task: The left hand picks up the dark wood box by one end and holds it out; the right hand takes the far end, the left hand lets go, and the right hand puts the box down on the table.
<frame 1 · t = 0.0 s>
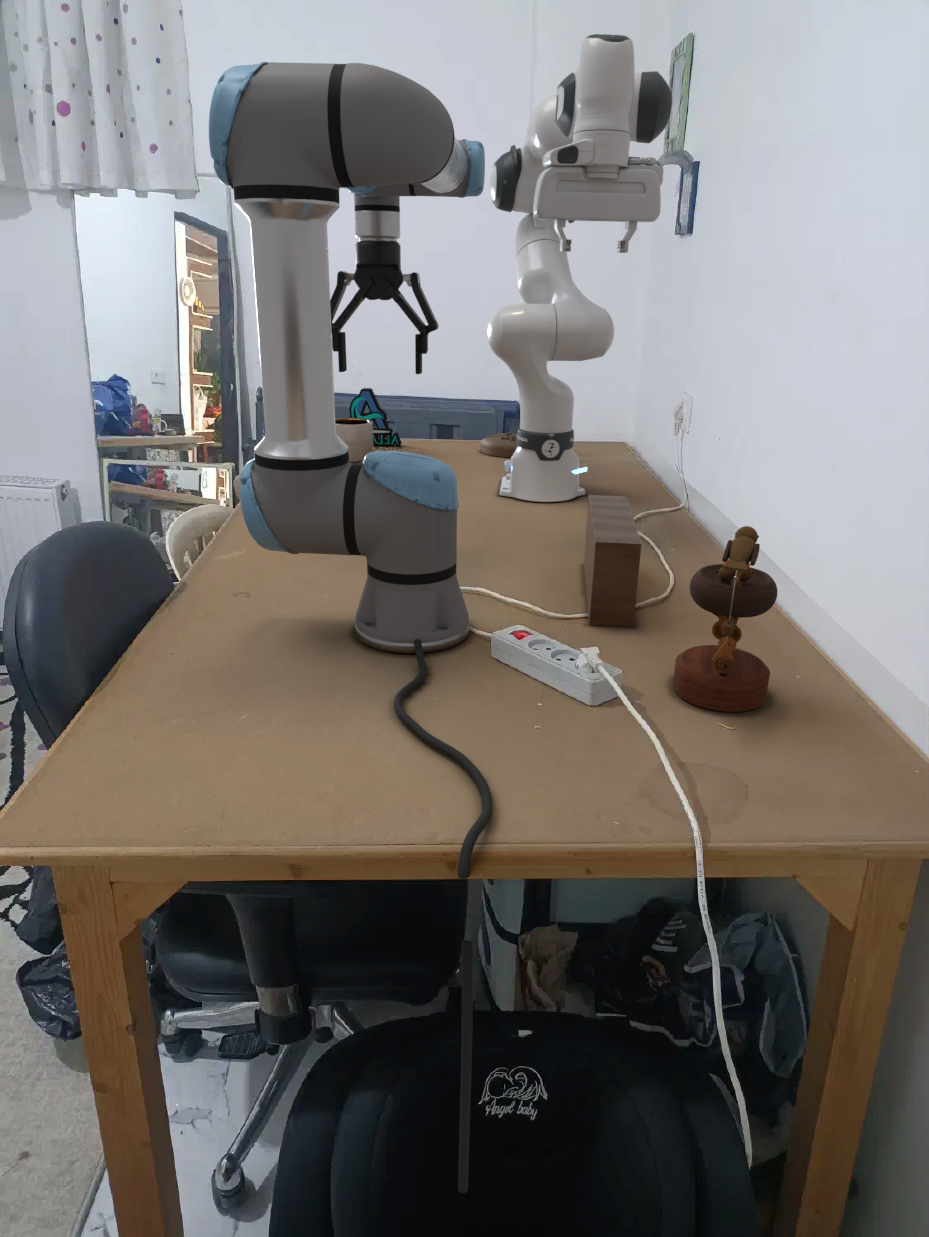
left hand: (380, 372, 149), 28 cm above the table, tool pointing down, fingers open, 13 cm apart
right hand: (593, 252, 137), 48 cm above the table, tool pointing down, fingers open, 8 cm apart
box: (606, 593, 128), on the table
planter: (352, 460, 214), on the table
dog toy: (371, 486, 189), on the table
music box: (717, 688, 99), on the table
brown flat oval slab: (521, 456, 222), on the table
decorative sign: (367, 445, 233), on the table
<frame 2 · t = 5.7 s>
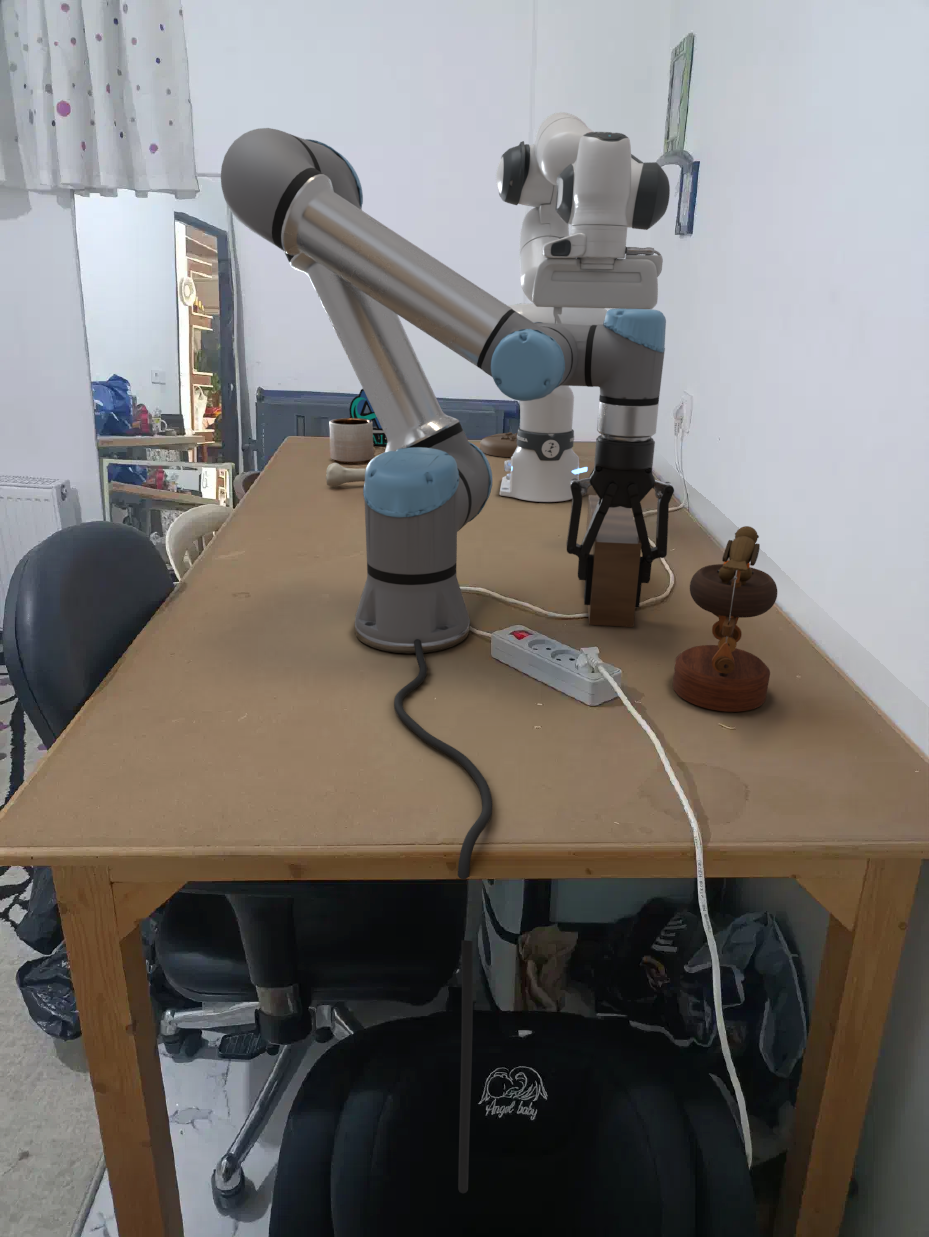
left hand: (611, 602, 118), 2 cm above the table, tool pointing down, fingers closed on box, 6 cm apart
right hand: (591, 337, 140), 35 cm above the table, tool pointing down, fingers open, 8 cm apart
box: (606, 593, 128), on the table, touching left hand
everything else where it was.
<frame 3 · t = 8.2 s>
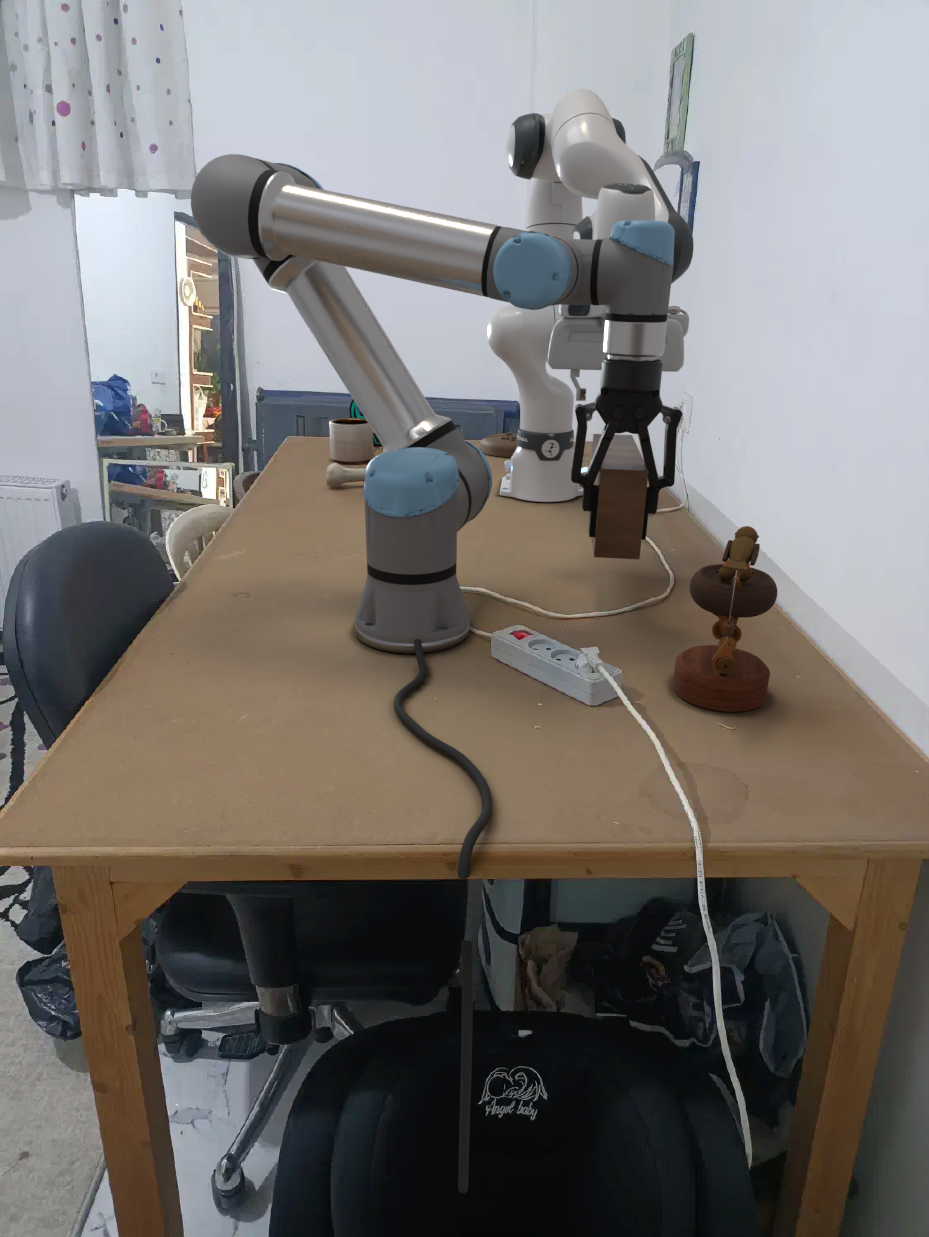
left hand: (616, 535, 114), 12 cm above the table, tool pointing down, fingers closed on box, 6 cm apart
right hand: (611, 401, 129), 27 cm above the table, tool pointing down, fingers open, 8 cm apart
box: (611, 531, 124), point 10 cm above the table, touching left hand
everything else where it was.
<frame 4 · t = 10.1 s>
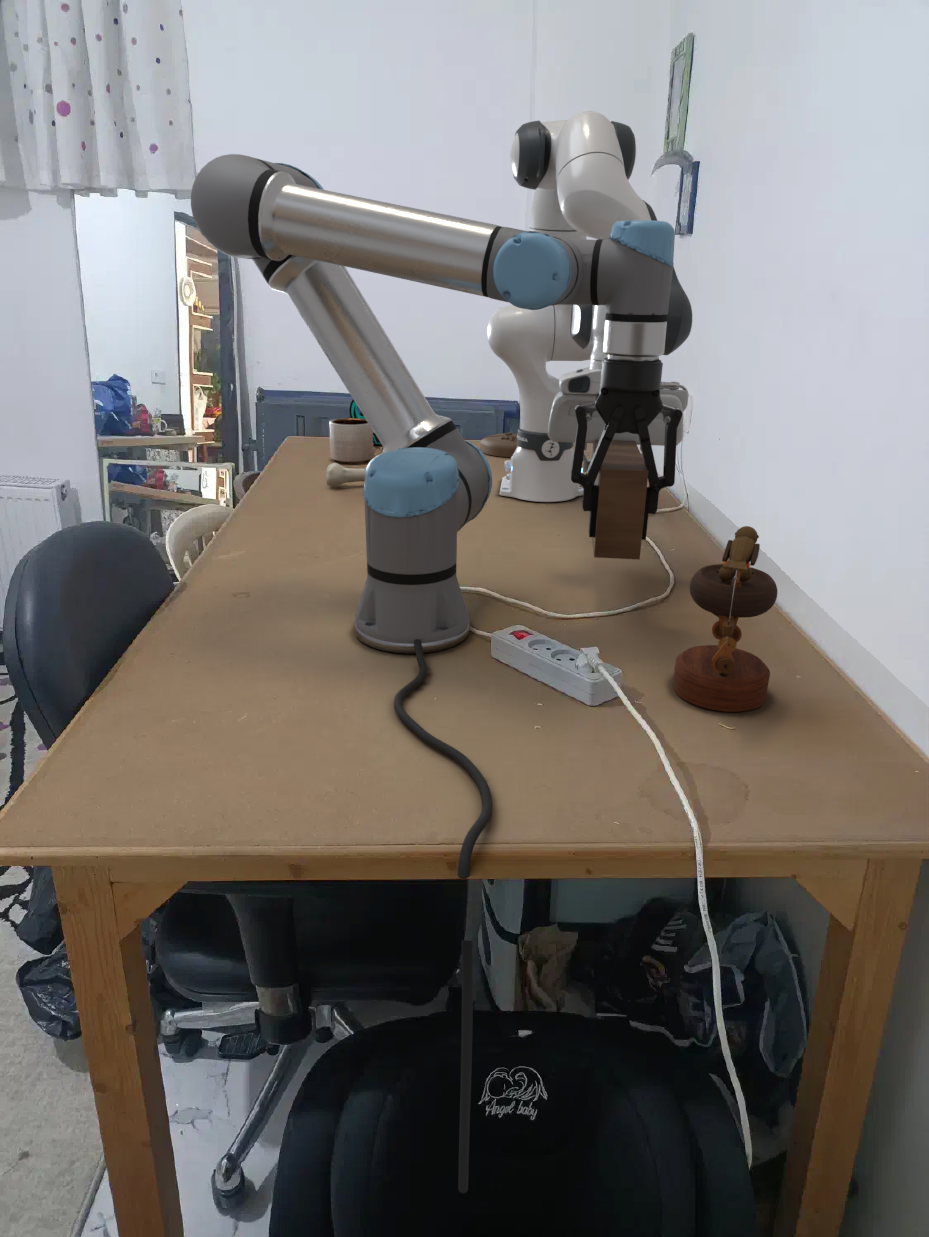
left hand: (616, 535, 114), 12 cm above the table, tool pointing down, fingers closed on box, 6 cm apart
right hand: (611, 472, 131), 16 cm above the table, tool pointing down, fingers closed on box, 6 cm apart
box: (611, 531, 124), point 10 cm above the table, touching left hand, right hand
everything else where it was.
when the left hand's fingers open (12 cm above the table, at t = 11.1 s): box stays where it is, held by the right hand.
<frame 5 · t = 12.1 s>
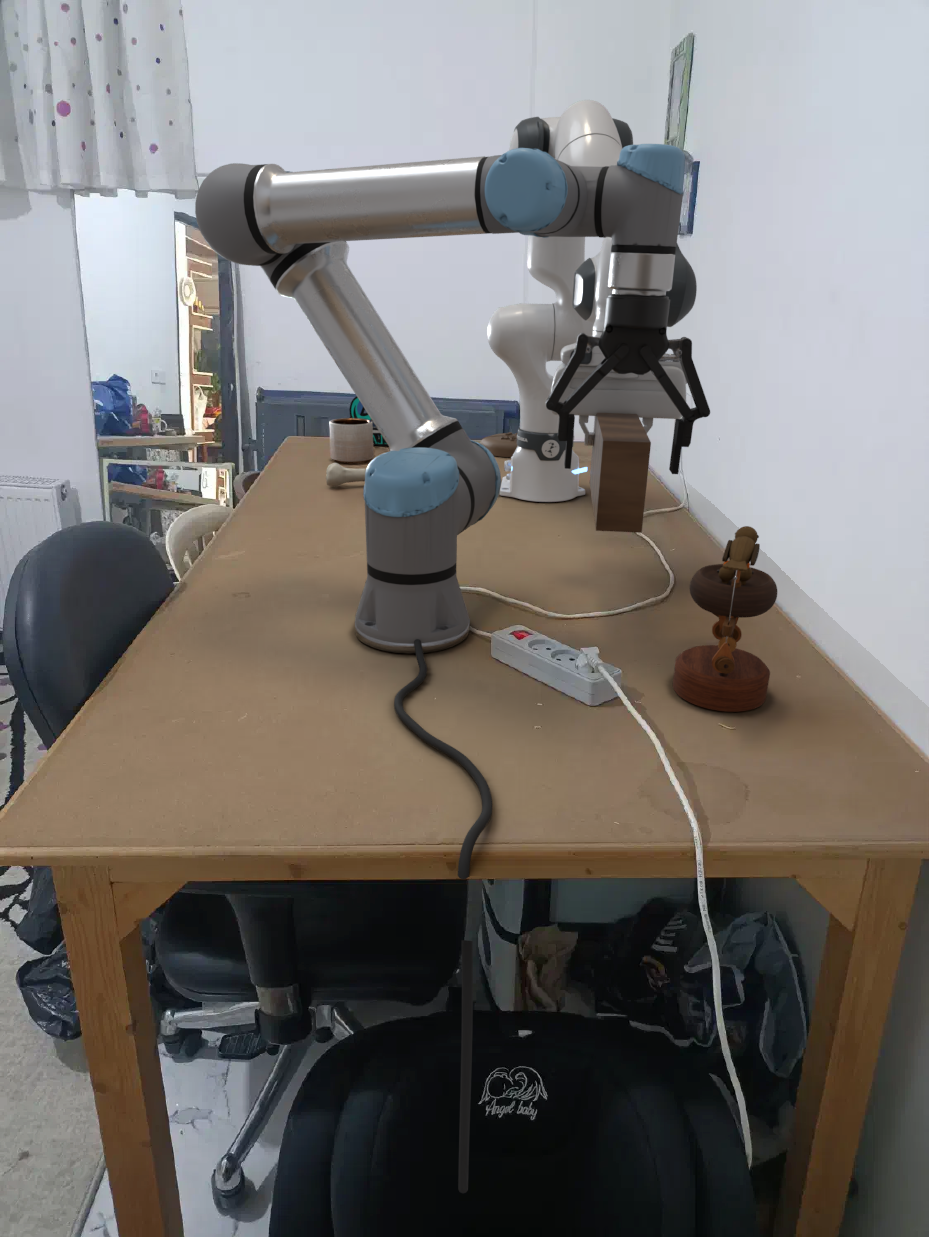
left hand: (620, 469, 109), 21 cm above the table, tool pointing down, fingers open, 13 cm apart
right hand: (612, 446, 129), 20 cm above the table, tool pointing down, fingers closed on box, 6 cm apart
box: (613, 505, 123), point 14 cm above the table, touching right hand
everything else where it was.
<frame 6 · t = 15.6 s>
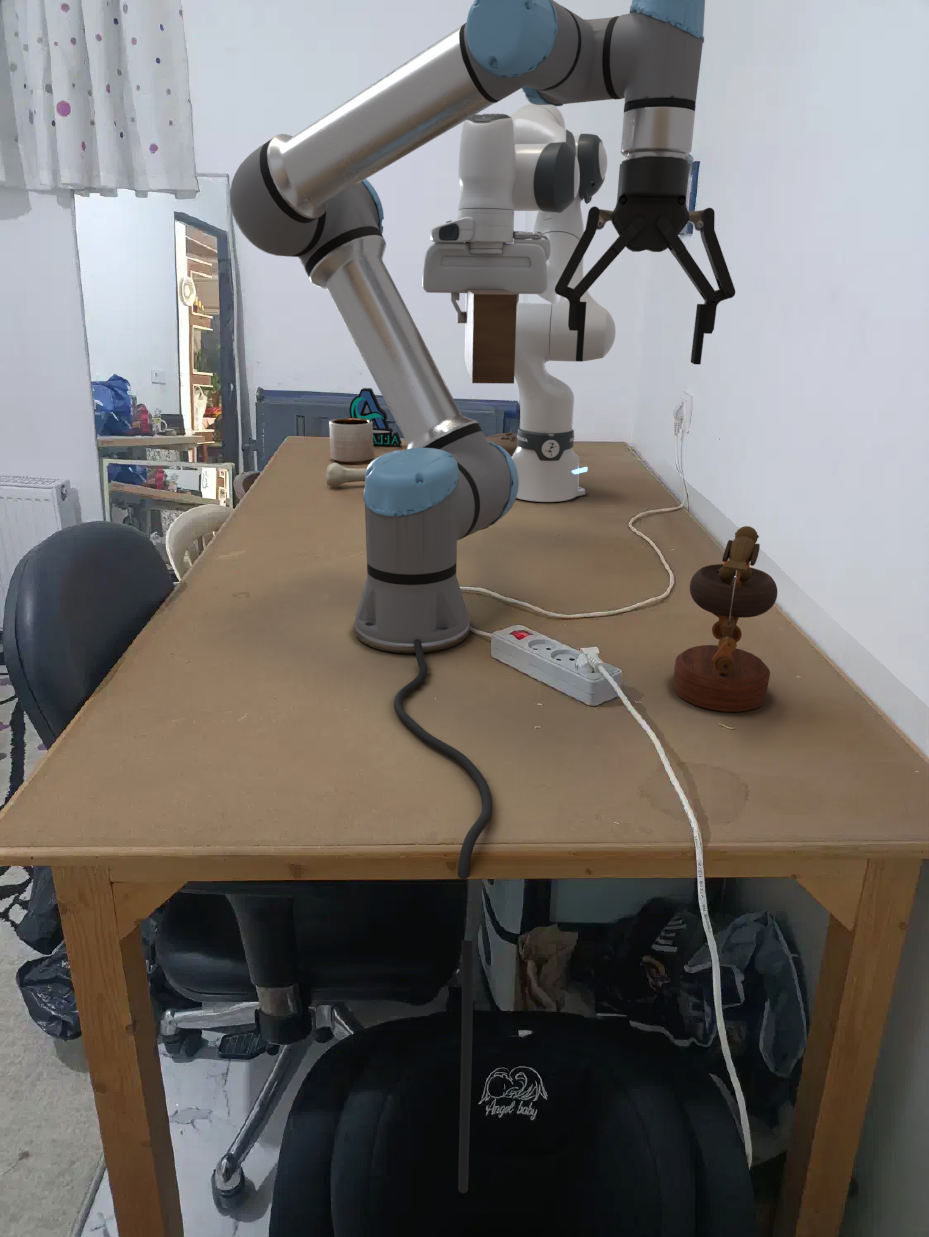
left hand: (636, 362, 100), 35 cm above the table, tool pointing down, fingers open, 13 cm apart
right hand: (483, 323, 139), 37 cm above the table, tool pointing down, fingers closed on box, 6 cm apart
box: (487, 372, 132), point 30 cm above the table, touching right hand
everything else where it was.
when the right hand's fingers open (8 cm above the table, at t = 21.3 s): box stays where it is, on the table.
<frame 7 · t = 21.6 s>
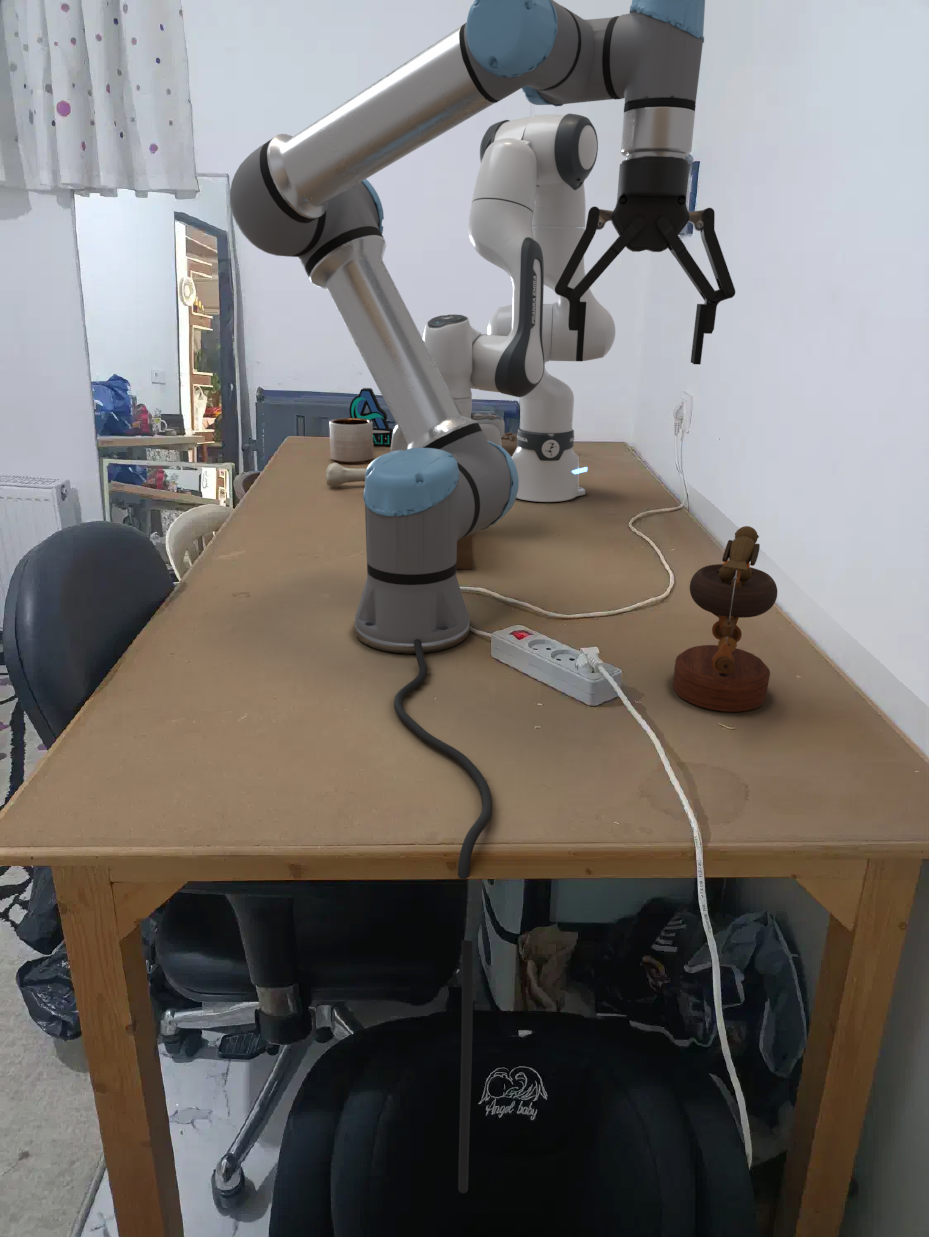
left hand: (636, 362, 100), 35 cm above the table, tool pointing down, fingers open, 13 cm apart
right hand: (446, 489, 155), 8 cm above the table, tool pointing down, fingers open, 8 cm apart
box: (448, 545, 149), on the table
everything else where it was.
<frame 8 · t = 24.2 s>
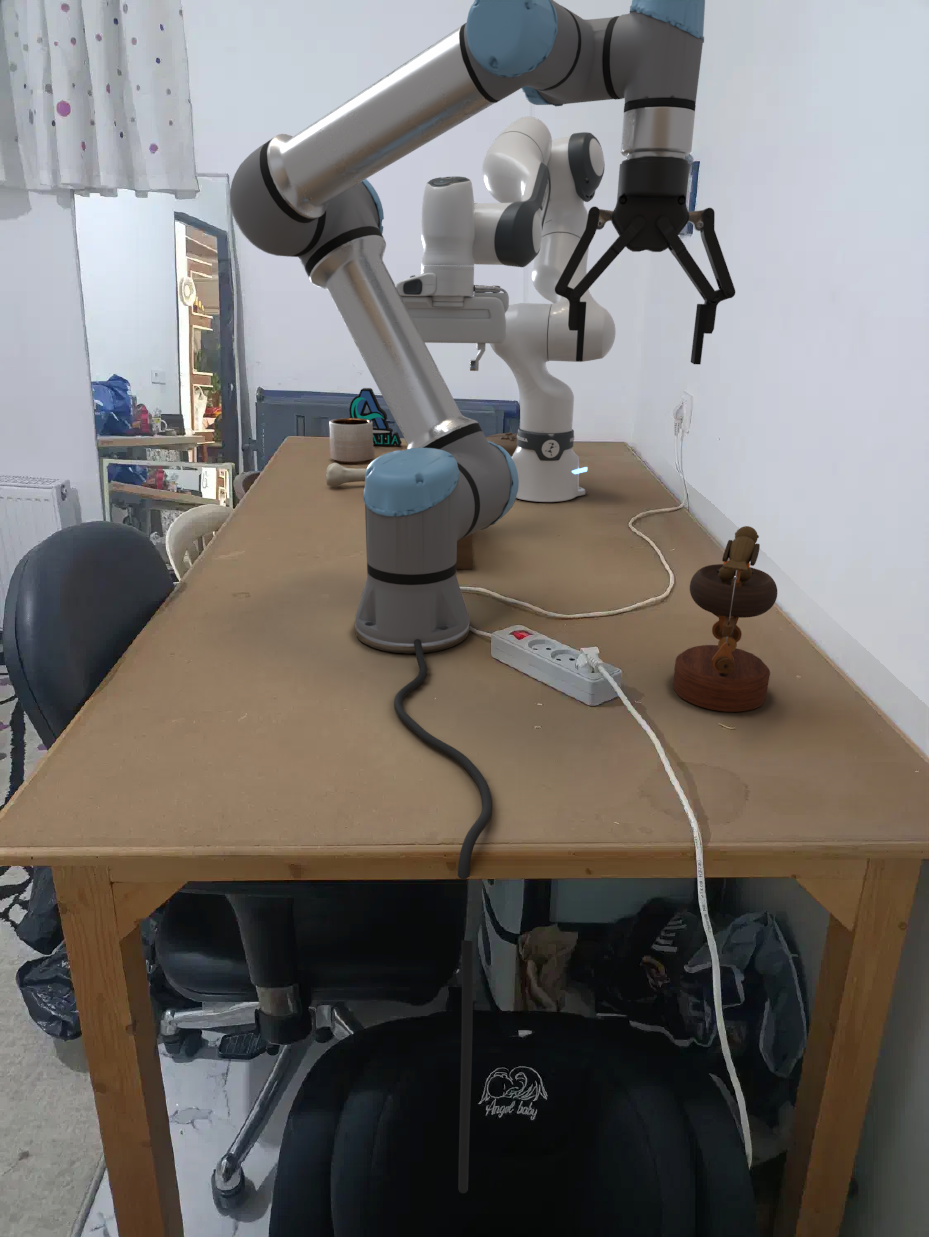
left hand: (636, 362, 100), 35 cm above the table, tool pointing down, fingers open, 13 cm apart
right hand: (446, 370, 146), 29 cm above the table, tool pointing down, fingers open, 8 cm apart
nothing on the table moved.
at the end: box inside the target area (9.3 cm from its centre), on the table; the left hand is holding nothing; the right hand is holding nothing; box at rest at the end (0.0 cm/s) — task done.
